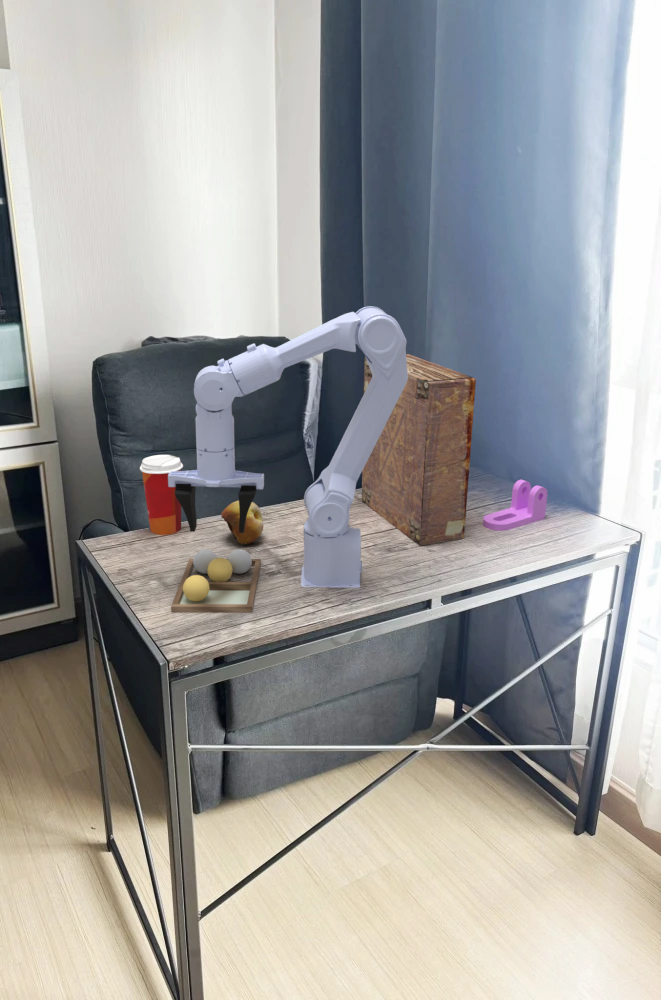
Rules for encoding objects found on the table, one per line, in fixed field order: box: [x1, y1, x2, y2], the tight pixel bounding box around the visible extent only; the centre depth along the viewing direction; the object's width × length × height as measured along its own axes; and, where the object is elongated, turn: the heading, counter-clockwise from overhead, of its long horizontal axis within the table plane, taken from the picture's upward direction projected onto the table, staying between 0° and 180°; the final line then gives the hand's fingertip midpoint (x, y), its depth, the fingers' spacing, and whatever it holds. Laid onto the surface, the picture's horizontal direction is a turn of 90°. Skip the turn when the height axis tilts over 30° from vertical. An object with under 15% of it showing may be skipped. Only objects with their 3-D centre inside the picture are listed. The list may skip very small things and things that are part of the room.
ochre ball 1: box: [183, 574, 209, 601], centre depth 123 cm, size 4×4×4 cm
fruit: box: [220, 499, 264, 546], centre depth 144 cm, size 8×8×8 cm
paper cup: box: [139, 454, 184, 536], centre depth 148 cm, size 8×8×14 cm
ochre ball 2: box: [207, 557, 233, 582], centre depth 129 cm, size 4×4×4 cm
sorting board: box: [170, 558, 262, 614], centre depth 127 cm, size 12×17×2 cm
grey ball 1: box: [192, 549, 218, 575], centre depth 132 cm, size 4×4×4 cm
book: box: [361, 353, 477, 547], centre depth 152 cm, size 25×9×30 cm, turn 23°
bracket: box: [482, 479, 548, 532], centre depth 155 cm, size 13×6×7 cm, turn 125°
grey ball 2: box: [227, 549, 253, 575], centre depth 132 cm, size 4×4×4 cm
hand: (217, 529), depth 126 cm, fingers open, 7 cm apart
